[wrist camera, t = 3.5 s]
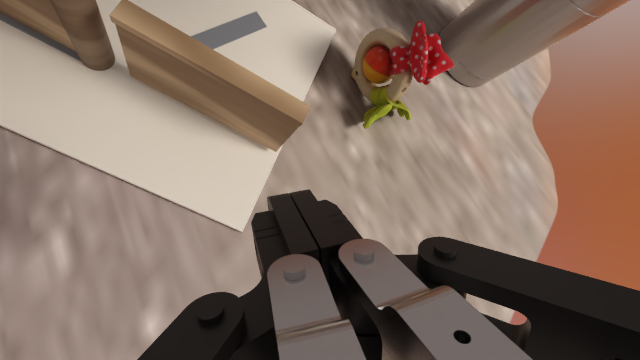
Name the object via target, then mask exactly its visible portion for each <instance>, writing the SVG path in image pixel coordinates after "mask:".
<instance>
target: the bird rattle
mask: <svg viewBox="0 0 640 360" xmlns="http://www.w3.org/2000/svg"><path fill="white" fill-rule="evenodd" d="M453 66H454V63H453V62H452V60H451V59H450V58H449V57H448V55H447V54H446V53H445V52H444V51H443V50H442V48H441V39H440V37H439V36H438V35H437V34H435V33H432V34H429V35H426V27H425V24H424V22H423V21H417V22H416V24H415V27H414V30H413V34H412V38H411V42H410V44H409V42H408V41H407V40H406V38H405V37H404V36H403V35H402V34H401V33H399V32H398V31H396V30H393V29H390V28H380V29H376V30H374V31H372V32H370V33H369V34H368V35H366V37H365V38H364V39H363V40H362V42H361V44H360V46H359V48H358V51H357V54H356V58H355V65H354V69H353V70H352V72H351V77H352V78H353V79H355V80H356V82H357V85H358V87H359V89H360V90H361V92H362V93H363V95H364V96H365V97H366V98H367V99H369V100H370V101H371V102H372V103H373V104H374V105H375V107H373V108H371V109H369V110H368V111H367V112H366V113H365V115H364V121H365V123H364V124H363V127H364V128H365V129H367V128H368V127H369V126H370V125H371V124H372V122H374V121H375V120H377V119H379V118H381V117H382V116H384V115H386V114H387V113H388V112H389V111H390V110H394V109H396V108H397V111H398V113H399V115H400V116H401V117H402V116H404V115H405V117H406V119H407V120H410V119H411V115H410V111H409V110H408V109H407V108H406V106H405V105H404V104H403V103H402V102H401V101H400V100H398V99H399V98H401V97H402V96H403V95H404V93H405V92H406V91H407V89H408V87H409V85H410V83H411V80H412V77H413V76H414V78H415V79H416V80H417V81H418V82H419V83H421V82H423V83H424V84H425V85H427V84H429V83H430V81H431V79H432V78H433V77H434V76H436V75H438V74H440V73H442V72H445V71H447V70H449V69H451V68H452V67H453ZM393 76H394V77H393ZM391 78H392V79H393V80H392V82H391V84H390V85H389V84H388V85H386V86H382V87H377V86H376V85H375V83H376V84H381V83H385V82H387V81H389V80H390V79H391Z"/></svg>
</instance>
